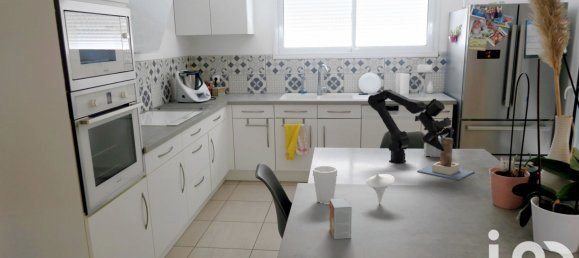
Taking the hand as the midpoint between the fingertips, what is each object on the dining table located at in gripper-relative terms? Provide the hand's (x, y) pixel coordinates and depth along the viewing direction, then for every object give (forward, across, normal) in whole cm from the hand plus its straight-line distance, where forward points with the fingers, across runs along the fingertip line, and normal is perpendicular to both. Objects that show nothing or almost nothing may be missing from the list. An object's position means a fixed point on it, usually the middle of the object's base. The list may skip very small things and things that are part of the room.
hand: (449, 149), depth 196 cm
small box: (+17, -85, -1) cm, 87 cm away
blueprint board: (+7, 0, +9) cm, 11 cm away
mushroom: (+11, -55, +5) cm, 56 cm away
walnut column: (+5, 0, +7) cm, 8 cm away
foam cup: (0, -68, +16) cm, 70 cm away
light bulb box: (-8, +24, +24) cm, 35 cm away
